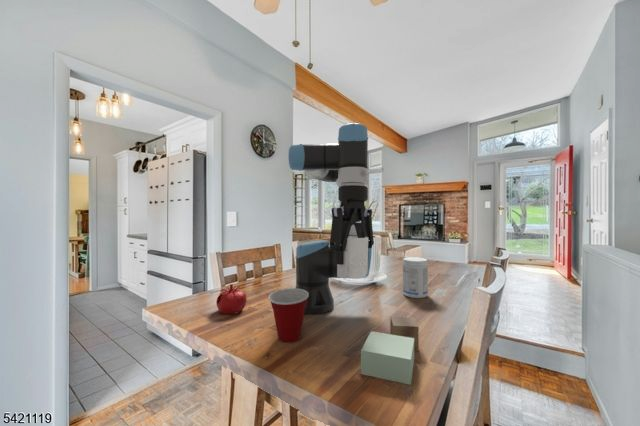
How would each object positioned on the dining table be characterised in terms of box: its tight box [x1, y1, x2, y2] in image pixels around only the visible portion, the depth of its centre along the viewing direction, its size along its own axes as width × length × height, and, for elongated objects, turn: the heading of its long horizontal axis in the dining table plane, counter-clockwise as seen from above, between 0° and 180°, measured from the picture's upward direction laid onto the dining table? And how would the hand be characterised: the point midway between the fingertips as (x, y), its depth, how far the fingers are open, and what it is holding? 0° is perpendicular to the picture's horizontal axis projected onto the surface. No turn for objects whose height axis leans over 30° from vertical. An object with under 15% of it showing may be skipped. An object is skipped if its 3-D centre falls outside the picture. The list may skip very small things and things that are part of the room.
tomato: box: [215, 283, 248, 315], centre depth 97 cm, size 10×10×9 cm
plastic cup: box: [268, 287, 309, 343], centre depth 76 cm, size 11×11×12 cm
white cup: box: [345, 236, 369, 280], centre depth 72 cm, size 8×8×10 cm
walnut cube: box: [389, 316, 420, 352], centre depth 73 cm, size 6×6×6 cm
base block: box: [360, 331, 415, 386], centre depth 62 cm, size 10×10×5 cm
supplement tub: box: [402, 256, 429, 299], centre depth 114 cm, size 10×10×15 cm
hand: (352, 275), depth 72 cm, fingers closed on white cup, 7 cm apart
